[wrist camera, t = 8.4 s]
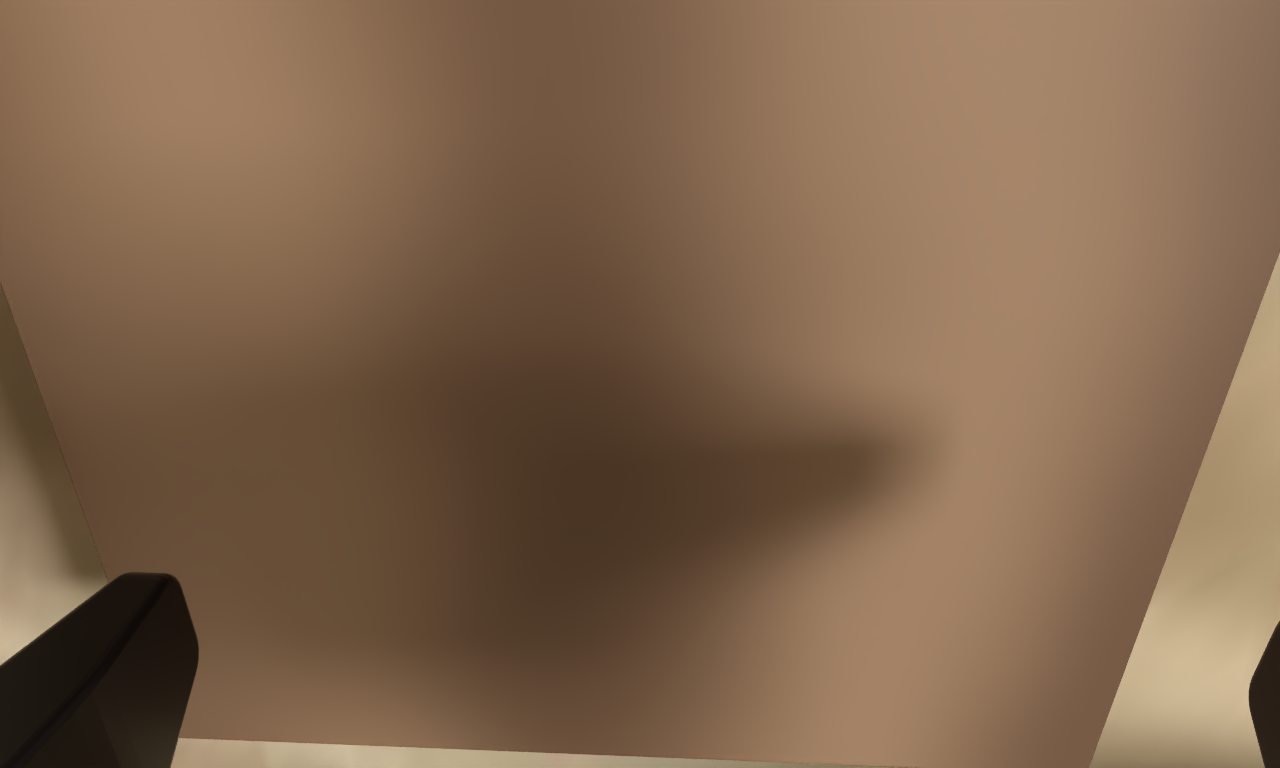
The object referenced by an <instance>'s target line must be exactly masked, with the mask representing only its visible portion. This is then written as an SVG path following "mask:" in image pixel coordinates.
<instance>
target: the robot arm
mask: <svg viewBox="0 0 1280 768" xmlns="http://www.w3.org/2000/svg"><path fill="white" fill-rule="evenodd" d="M198 661H199V644H198V639H197V635H196V632H195V629H194V625H193V622H192V619H191V616H190V612H189V609H188V606H187V603H186V599H185V596H184V593H183V590H182V587H181V585H180V582H179V581H178V580H177V578H176V577H175V576H173V575H171V574H168V573H145V572H129V573H124V574H122V575H120V576H118V577H117V578H115V579H114V580H112V581H111V582H110V583H108V584H107V585H106V586H104V587H103V588H102V589H100V590H99V591H98V592H96V593H95V594H94V595H92V596H91V597H90V598H89V599H87V600H86V601H85V602H83V603H82V604H81V605H79V606H78V607H77V608H75V609H74V610H73V611H71V612H70V613H69V614H67V615H66V616H65V617H64V618H62V619H61V620H60V621H58V622H57V623H56V624H54V625H53V626H52V627H50V628H49V629H48V630H46V631H45V632H44V633H42V634H41V635H40V636H38V637H37V638H36V639H35V640H33V641H32V642H31V643H29V644H28V645H27V646H25V647H24V648H23V649H21V650H20V651H19V652H17V653H16V654H15V655H13V656H12V657H11V658H10V659H8V660H7V661H6V662H4V663H3V664H2V665H0V768H171V764H172V760H173V757H174V753H175V749H176V746H177V742H178V738H179V735H180V731H181V727H182V724H183V720H184V716H185V712H186V709H187V705H188V701H189V698H190V694H191V690H192V687H193V683H194V679H195V676H196V672H197V667H198ZM1249 707H1250V712H1251V716H1252V720H1253V724H1254V728H1255V732H1256V735H1257V739H1258V743H1259V747H1260V751H1261V754H1262V758H1263V762H1264V766H1265V768H1280V621H1279V623H1278V624H1277V626H1276V628H1275V630H1274V632H1273V634H1272V636H1271V638H1270V641H1269V643H1268V645H1267V647H1266V649H1265V651H1264V653H1263V655H1262V658H1261V660H1260V662H1259V664H1258V666H1257V668H1256V670H1255V673H1254V675H1253V677H1252V680H1251V683H1250V688H1249Z"/></svg>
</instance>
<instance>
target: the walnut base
mask: <svg viewBox="0 0 1280 768" xmlns="http://www.w3.org/2000/svg"><path fill="white" fill-rule="evenodd" d="M1279 253H1280V0H0V282H1V285H2V288H3V290H4V293H5V296H6V299H7V302H8V304H9V307H10V310H11V313H12V316H13V318H14V321H15V324H16V327H17V329H18V332H19V335H20V338H21V341H22V343H23V346H24V349H25V352H26V354H27V357H28V360H29V363H30V366H31V368H32V371H33V374H34V377H35V379H36V382H37V385H38V388H39V391H40V393H41V396H42V399H43V402H44V404H45V407H46V410H47V413H48V416H49V418H50V421H51V424H52V427H53V429H54V432H55V435H56V438H57V441H58V443H59V446H60V449H61V452H62V454H63V457H64V460H65V463H66V466H67V468H68V471H69V474H70V477H71V480H72V482H73V485H74V488H75V491H76V493H77V496H78V499H79V502H80V505H81V507H82V510H83V513H84V516H85V518H86V521H87V524H88V527H89V530H90V532H91V535H92V538H93V541H94V543H95V546H96V549H97V552H98V555H99V557H100V560H101V563H102V566H103V568H104V571H105V574H106V577H107V580H108V582H109V583H110V582H111V581H112V580H114V579H115V578H117V577H118V576H120V575H122V574H124V573H129V572H145V573H168V574H171V575H173V576H175V577H176V578H177V580H178V581H179V582H180V585H181V587H182V590H183V593H184V596H185V599H186V603H187V606H188V609H189V612H190V616H191V619H192V622H193V625H194V629H195V632H196V635H197V639H198V644H199V661H198V667H197V672H196V676H195V679H194V683H193V687H192V690H191V694H190V698H189V701H188V705H187V709H186V712H185V716H184V720H183V724H182V727H181V731H180V735H179V738H196V739H220V740H245V741H270V742H295V743H319V744H344V745H369V746H394V747H419V748H443V749H468V750H493V751H518V752H542V753H567V754H592V755H617V756H642V757H666V758H691V759H716V760H741V761H765V762H790V763H815V764H840V765H864V766H889V767H914V768H1089V765H1090V762H1091V760H1092V757H1093V754H1094V752H1095V749H1096V746H1097V744H1098V741H1099V738H1100V735H1101V733H1102V730H1103V727H1104V725H1105V722H1106V719H1107V717H1108V714H1109V711H1110V708H1111V706H1112V703H1113V700H1114V698H1115V695H1116V692H1117V690H1118V687H1119V684H1120V682H1121V679H1122V676H1123V673H1124V671H1125V668H1126V665H1127V663H1128V660H1129V657H1130V655H1131V652H1132V649H1133V646H1134V644H1135V641H1136V638H1137V636H1138V633H1139V630H1140V628H1141V625H1142V622H1143V619H1144V617H1145V614H1146V611H1147V609H1148V606H1149V603H1150V601H1151V598H1152V595H1153V592H1154V590H1155V587H1156V584H1157V582H1158V579H1159V576H1160V574H1161V571H1162V568H1163V566H1164V563H1165V560H1166V557H1167V555H1168V552H1169V549H1170V547H1171V544H1172V541H1173V539H1174V536H1175V533H1176V530H1177V528H1178V525H1179V522H1180V520H1181V517H1182V514H1183V512H1184V509H1185V506H1186V503H1187V501H1188V498H1189V495H1190V493H1191V490H1192V487H1193V485H1194V482H1195V479H1196V477H1197V474H1198V471H1199V468H1200V466H1201V463H1202V460H1203V458H1204V455H1205V452H1206V450H1207V447H1208V444H1209V441H1210V439H1211V436H1212V433H1213V431H1214V428H1215V425H1216V423H1217V420H1218V417H1219V414H1220V412H1221V409H1222V406H1223V404H1224V401H1225V398H1226V396H1227V393H1228V390H1229V387H1230V385H1231V382H1232V379H1233V377H1234V374H1235V371H1236V369H1237V366H1238V363H1239V360H1240V358H1241V355H1242V352H1243V350H1244V347H1245V344H1246V342H1247V339H1248V336H1249V334H1250V331H1251V328H1252V325H1253V323H1254V320H1255V317H1256V315H1257V312H1258V309H1259V307H1260V304H1261V301H1262V298H1263V296H1264V293H1265V290H1266V288H1267V285H1268V282H1269V280H1270V277H1271V274H1272V271H1273V269H1274V266H1275V263H1276V261H1277V258H1278V255H1279Z"/></svg>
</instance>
